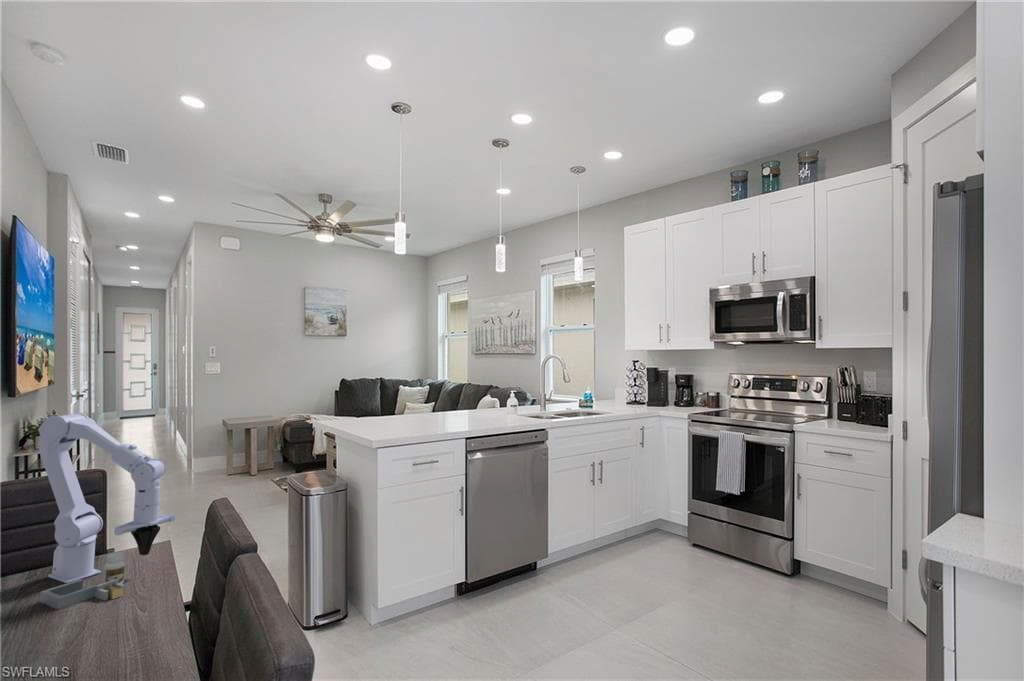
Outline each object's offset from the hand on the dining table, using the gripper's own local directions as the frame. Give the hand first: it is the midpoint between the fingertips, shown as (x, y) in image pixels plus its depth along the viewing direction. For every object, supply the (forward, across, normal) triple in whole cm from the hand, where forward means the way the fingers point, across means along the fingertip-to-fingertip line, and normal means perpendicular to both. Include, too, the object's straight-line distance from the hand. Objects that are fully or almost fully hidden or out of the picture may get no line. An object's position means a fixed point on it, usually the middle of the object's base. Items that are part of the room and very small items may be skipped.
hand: (144, 554), depth 140 cm
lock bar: (+5, -11, -6) cm, 14 cm away
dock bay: (+5, -15, -2) cm, 16 cm away
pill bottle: (+6, -7, 0) cm, 9 cm away
